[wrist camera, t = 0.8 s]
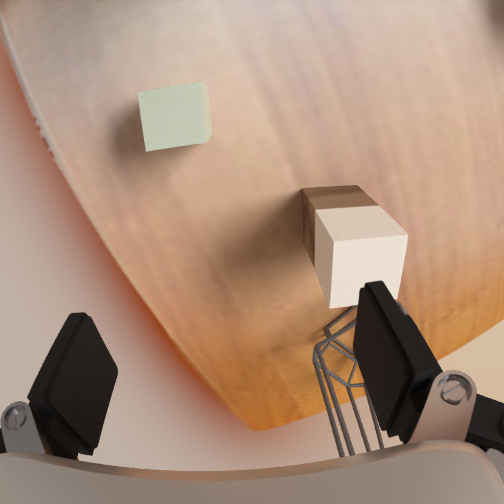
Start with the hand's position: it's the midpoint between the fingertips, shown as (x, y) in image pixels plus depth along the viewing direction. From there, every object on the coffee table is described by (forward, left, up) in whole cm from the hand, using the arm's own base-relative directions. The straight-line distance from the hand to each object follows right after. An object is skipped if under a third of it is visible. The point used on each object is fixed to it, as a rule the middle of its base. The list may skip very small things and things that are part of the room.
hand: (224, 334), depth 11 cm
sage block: (-6, -4, -24) cm, 25 cm away
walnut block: (+6, +10, -24) cm, 26 cm away
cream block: (+6, +10, -18) cm, 21 cm away
